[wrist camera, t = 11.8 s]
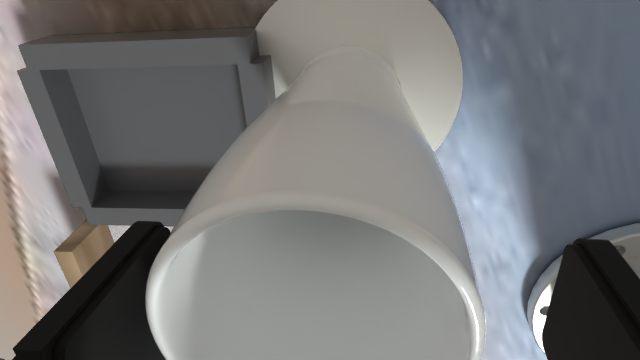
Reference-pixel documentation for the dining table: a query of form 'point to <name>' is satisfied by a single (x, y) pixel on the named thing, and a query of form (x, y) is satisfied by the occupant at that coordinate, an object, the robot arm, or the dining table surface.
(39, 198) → the dining table surface
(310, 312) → the drinking glass
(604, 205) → the dining table surface
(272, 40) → the coaster
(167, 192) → the tray
